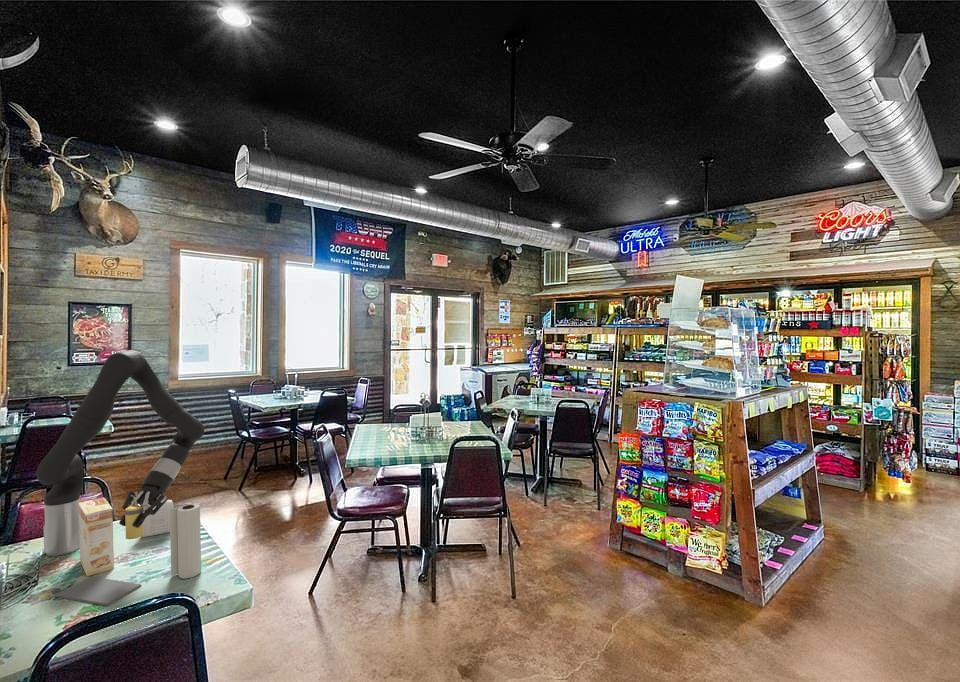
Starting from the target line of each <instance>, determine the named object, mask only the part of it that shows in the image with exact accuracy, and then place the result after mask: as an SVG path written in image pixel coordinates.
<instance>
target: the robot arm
mask: <svg viewBox="0 0 960 682" xmlns="http://www.w3.org/2000/svg"><path fill="white" fill-rule="evenodd" d="M129 378H131V379H132V380H133V381H135V382H136V383H137V384H138V385H139V386H140V387H141V389H142V390H143V392H144V394H145V396H146V399H147V400H148V403H149V405H150V407H151V408H152V409H153V411H154V412H155V413H156V415H158V416H159V417H160V418H161V420H163V422H164V423H166V424H167V425H173V426H174V427H175V428H176V429H177V432H176V433H175V435H174V436H173V438H172V440H171V441H170V444H169V445H168V447H167V448H166V449H165V451H164V452H163V454H162V455H161V457H160V458H159V459H158V460H157V462H156V463H154V466H153V467H152V468H151V470H150V471H149V472H148V474H147V475H146V477H145V478H144V480H143V481H142V484H141V485H142V487H141V488H140V489H139V490H138V491H136V492H135V491H134V492H133V491H129V493H128V494H127V496H126V499H125V501H124V503H123V505H122V510H123V511H125V509H126V508H128V507H130V506H134V505H142V506H143V508H142V511H141V514H139V515H138V516H137V518H136V520H135V521H134V523H133V524H132V526H134V527H136V528H139V527H140V526H141V525H142V523H143V521H144V520H145V518H146V517H147V516H149V515H151V514H152V515H154V514H155V513H156V512H157V511H158V510H159V509H160V508H161V507H162V506H163V505H164V503H165V502H166V501H167V500H169V498H168V497H167V496H166V495H164V493H167V491H168V490H169V488H170V486H171V485H172V483H173V482H174V480H175V479H176V477H177V476H178V474H179V472H180V469H181V468H182V467H183V464H184V463H185V462H186V461H187V459H188V457H189V454H190V453H189V452H190V451H191V449H192V447H193V446H194V444H195V443H196V442H197V441H199V440H200V439H201V438H203V436H204V434H205V427H204V424H203V423H202V422H201V421H200V419H198V418H197V417H195V415H193V414H192V413H190V412H188V411H187V410H186V409H185V408H184V407H183V406H182V405H181V403H179V402H178V401H177V400H176V399H175V397H174V396H173V395H171V393H170V392H169V391H168V390H167V388H166V387H165V386H164V384H163V383H162V382H161V380H160V378H158V375H156V372H154V370H153V369H152V367H151V365H150V364H149V362H148V361H147V359H146V358H145V356H144V355H143V354H142V353H140V351H137V350H134V349H127V350H122V351H118V352H115V353H113V354H110V356H108V357H107V358H106V360H105V361H104V363H103V365H102V367H101V369H100V372H99V374H98V376H97V378H96V380H95V382H94V383H93V386H92V387H91V389H90V390H89V391H88V393H87V394H86V396H85V397H84V399H83V401H82V402H81V403H80V405H79V406H78V408H77V409H76V411H75V413H74V414H73V416H72V417H71V419H70V421H69V422H68V424H67V426H66V427H65V429H64V430H63V432H62V433H61V435H60V436H59V438H58V440H57V441H56V443H55V444H54V446H53V447H52V448H51V449H50V451H48V453H47V454H46V455H45V456H44V458H43V459H42V460H41V462H40V463H39V464H38V466H37V469H36V473H35V474H36V479H37V481H38V482H39V483H40V484H42V485H45V486H52V487H51V489H50V490H49V491H48V492H47V493H46V494H45V495H44V498H43V501H44V502H43V503H44V505H43V506H44V524H43V528H42V529H43V549H44V550H43V552H44V553H45V554H46V556H48V557H56V556H62V555H63V556H64V555H67V554H69V553H73V552H75V551H77V550H80V541H79V506H78V503H80V502H81V493H82V490H83V485H84V463H83V460H82V458H81V456H80V455H79V452H80V451H81V450H82V449H83V448H84V447H85V446H86V445H88V443H90V442H91V441H92V440H93V439H94V438H95V437H96V436H97V435H98V434H99V433H100V432H101V431H102V429H103V428H104V427H105V425H106V424H107V423H108V421H109V419H110V418H111V416H112V414H113V412H114V407H115V400H116V397H117V394H118V392H119V391H120V390H121V388H122V386H123V385H124V384H125V383H126V382H127V380H128V379H129ZM155 506H156V508H155V509H154V510H153V508H154V507H155ZM119 525H121V526H122V527H126V525H125V513H124V514H123V516H122V517H121V519H120V520H119Z"/></svg>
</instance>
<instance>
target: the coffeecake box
mask: <svg viewBox="0 0 960 682" xmlns="http://www.w3.org/2000/svg"><path fill="white" fill-rule="evenodd" d="M78 506H79V541H80V548H79V561H80V565H82V568H83V570H84V573H85V575H86V576H87V577H89V576H90V577H91V576H92V575H97V574H99V573H103V572H106V571H109V570H113V569H115V559H114V558H115V557H114V556H115V555H114V554H115V553H114V521H113V520H114V517H113V516H114V515H113V514H114V512H113V511H114V509H113V507H112V506H111V504H110V503H109V501H108V500H107V499H106V498H105V497H100V498H95V499H94V498H93V499H90V500H86V501H80V503H78Z"/></svg>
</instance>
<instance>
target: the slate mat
mask: <svg viewBox="0 0 960 682" xmlns="http://www.w3.org/2000/svg"><path fill="white" fill-rule="evenodd" d="M141 587H142V584H141V583H135V582H129V581H123V580H116V579H111V578H106V577H105V578H104V577H97V576H92V575H90V577H89V576H88V577H87V578H85V579H83V580H81V581H80V582H78V583H75V584H74V585H72V586H70V587H67V588H65V589H64V590H62V591H60V592H58V593H57V592H56V594H54V597H55V598H60V599H66V600H71V601H78V602H83V603H89V604H95V605H101V606H107V605H108V606H110V605H112V604H113V603H115V602H117V601H118V600H119V599H122V598H123V597H125V596H126V595H128V594H131V593H132V592H134V591H135V590H137V589H138V588H141ZM109 604H110V605H109ZM108 606H107V607H108Z"/></svg>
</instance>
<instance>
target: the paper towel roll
mask: <svg viewBox="0 0 960 682" xmlns="http://www.w3.org/2000/svg"><path fill="white" fill-rule="evenodd" d="M169 537H170V538H169V539H170V545H169V547H170V576H171V577H174V576H176V575H178V577H179V578H180V579H184V580H185V579H190V578H194V577H197V576H198V575H199V574H200V573H201V572H202V548H201V547H202V545H201V544H202V543H201V541H202V538H201V505H200V504H199V503H188V504H183V505H180V506H177V507H174V508H173V509H170V532H169Z"/></svg>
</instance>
